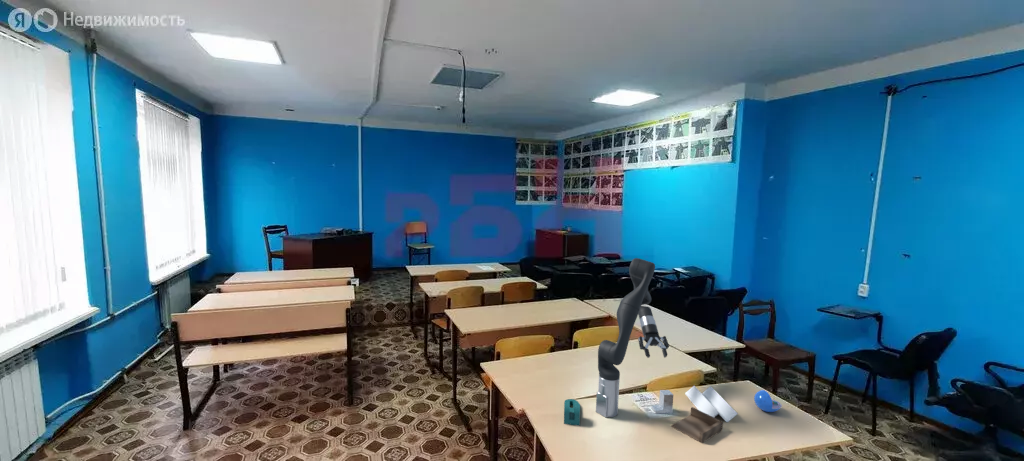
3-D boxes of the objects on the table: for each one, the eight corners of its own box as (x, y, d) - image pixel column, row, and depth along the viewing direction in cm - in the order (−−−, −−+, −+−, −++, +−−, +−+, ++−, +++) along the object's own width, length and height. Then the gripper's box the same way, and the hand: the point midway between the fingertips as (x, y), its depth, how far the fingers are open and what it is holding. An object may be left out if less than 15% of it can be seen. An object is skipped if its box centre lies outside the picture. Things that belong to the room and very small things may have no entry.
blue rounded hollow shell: (786, 416, 186) (788, 396, 185) (762, 416, 185) (764, 396, 184) (771, 404, 195) (773, 385, 194) (748, 404, 195) (749, 386, 194)
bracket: (579, 425, 174) (580, 408, 173) (563, 424, 175) (564, 407, 174) (578, 404, 192) (579, 388, 191) (564, 402, 193) (564, 387, 192)
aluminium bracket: (667, 408, 190) (668, 390, 189) (672, 413, 185) (673, 394, 185) (651, 408, 189) (652, 390, 188) (655, 413, 185) (656, 395, 184)
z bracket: (717, 431, 180) (707, 421, 179) (692, 401, 205) (684, 393, 204) (737, 413, 179) (728, 403, 178) (711, 386, 204) (702, 377, 203)
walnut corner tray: (701, 443, 164) (702, 434, 163) (671, 426, 175) (671, 417, 175) (722, 430, 173) (722, 421, 172) (691, 415, 184) (692, 407, 184)
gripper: (637, 323, 204) (645, 354, 193) (664, 323, 205) (674, 353, 195) (633, 329, 209) (640, 360, 199) (659, 329, 210) (668, 359, 200)
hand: (657, 357), depth 197 cm, fingers open, 8 cm apart
